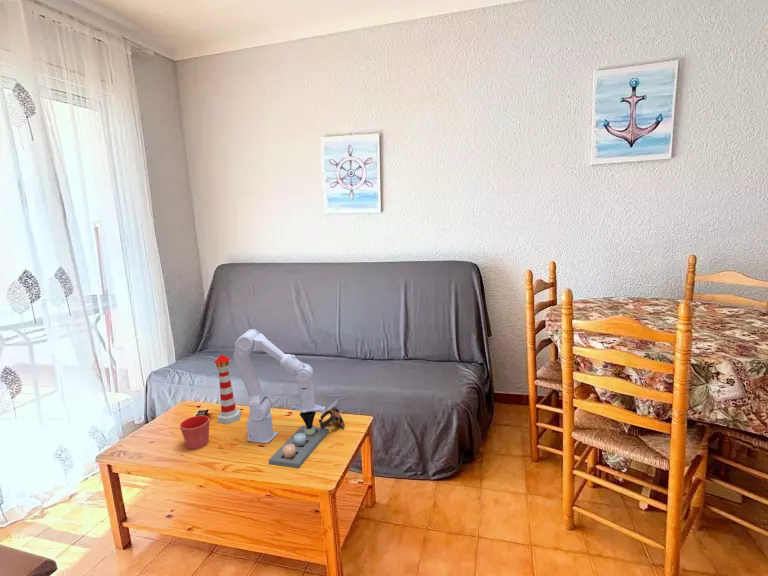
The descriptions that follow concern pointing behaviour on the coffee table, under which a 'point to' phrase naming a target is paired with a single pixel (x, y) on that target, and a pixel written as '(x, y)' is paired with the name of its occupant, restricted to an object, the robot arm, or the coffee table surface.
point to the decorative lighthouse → (226, 393)
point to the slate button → (299, 439)
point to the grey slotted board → (299, 448)
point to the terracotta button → (289, 451)
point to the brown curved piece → (331, 418)
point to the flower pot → (195, 431)
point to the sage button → (310, 431)
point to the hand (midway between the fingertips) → (309, 427)
